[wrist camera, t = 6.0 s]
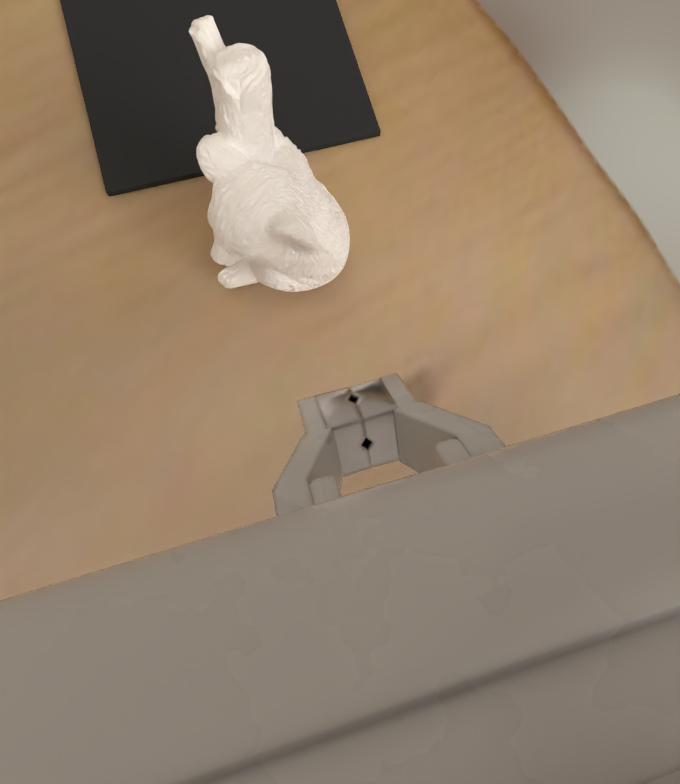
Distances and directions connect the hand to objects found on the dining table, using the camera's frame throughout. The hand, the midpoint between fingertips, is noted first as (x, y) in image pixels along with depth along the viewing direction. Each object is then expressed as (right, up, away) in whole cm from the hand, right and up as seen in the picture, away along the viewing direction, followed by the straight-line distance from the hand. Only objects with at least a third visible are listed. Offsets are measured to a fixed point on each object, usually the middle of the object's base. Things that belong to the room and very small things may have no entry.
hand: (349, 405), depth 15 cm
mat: (-8, +23, +16) cm, 29 cm away
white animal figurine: (-4, +8, +14) cm, 16 cm away
